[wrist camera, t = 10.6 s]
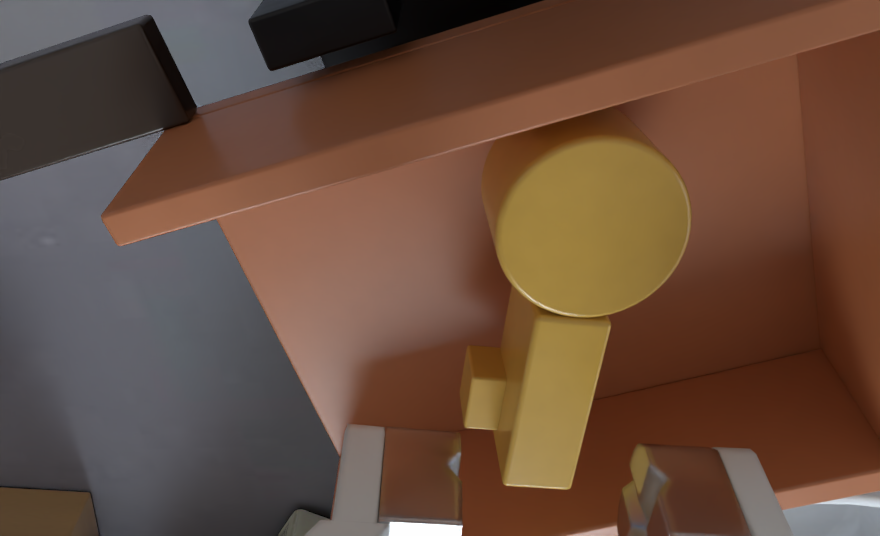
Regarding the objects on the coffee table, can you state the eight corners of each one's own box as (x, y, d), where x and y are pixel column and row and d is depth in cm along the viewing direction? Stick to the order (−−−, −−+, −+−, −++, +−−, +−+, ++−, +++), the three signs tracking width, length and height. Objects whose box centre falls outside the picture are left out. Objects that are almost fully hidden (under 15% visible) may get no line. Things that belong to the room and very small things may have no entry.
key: (495, 86, 12) (512, 125, 10) (669, 106, 12) (717, 148, 10) (445, 406, 14) (452, 485, 12) (590, 417, 14) (619, 495, 13)
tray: (-43, 75, 13) (-188, 170, 10) (800, -208, 11) (936, -195, 8) (220, 485, 18) (175, 631, 15) (837, 345, 16) (929, 483, 13)
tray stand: (287, -56, 17) (213, 31, 12) (723, -204, 16) (871, -184, 10) (435, 328, 22) (433, 512, 17) (772, 245, 21) (887, 417, 15)
